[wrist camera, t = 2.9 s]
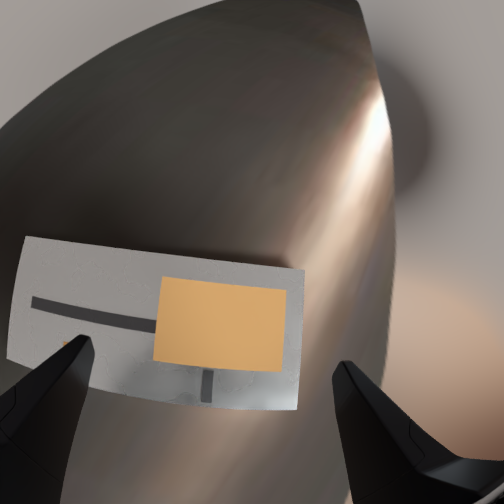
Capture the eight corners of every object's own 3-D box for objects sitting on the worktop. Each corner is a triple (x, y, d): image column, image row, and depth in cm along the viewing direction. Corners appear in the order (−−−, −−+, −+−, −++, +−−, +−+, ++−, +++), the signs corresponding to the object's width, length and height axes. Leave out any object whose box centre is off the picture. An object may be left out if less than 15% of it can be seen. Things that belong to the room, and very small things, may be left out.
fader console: (297, 275, 20) (305, 269, 18) (289, 405, 17) (296, 410, 16) (35, 242, 17) (25, 235, 16) (17, 358, 15) (6, 358, 13)
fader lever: (239, 319, 17) (286, 289, 7) (236, 353, 16) (281, 371, 6) (187, 313, 16) (162, 276, 7) (184, 347, 16) (152, 360, 6)
